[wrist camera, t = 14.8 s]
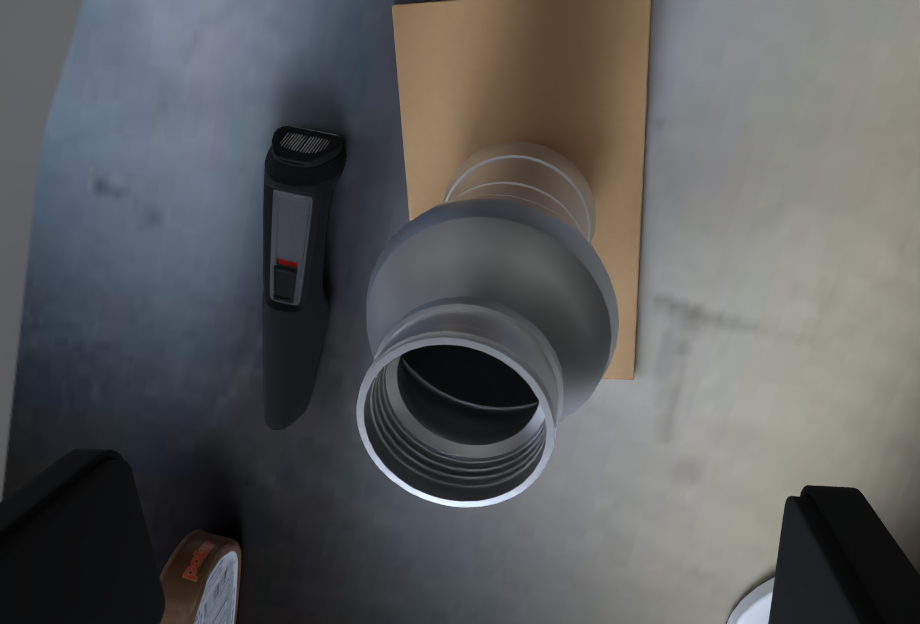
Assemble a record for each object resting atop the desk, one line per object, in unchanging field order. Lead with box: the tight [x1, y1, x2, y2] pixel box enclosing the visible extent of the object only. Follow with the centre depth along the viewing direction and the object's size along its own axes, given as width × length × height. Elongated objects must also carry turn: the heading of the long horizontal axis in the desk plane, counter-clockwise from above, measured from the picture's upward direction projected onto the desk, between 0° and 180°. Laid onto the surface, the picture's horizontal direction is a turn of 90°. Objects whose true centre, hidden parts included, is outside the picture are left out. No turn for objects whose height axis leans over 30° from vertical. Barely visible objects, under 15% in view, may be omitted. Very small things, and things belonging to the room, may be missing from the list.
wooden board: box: [392, 0, 651, 380], centre depth 30 cm, size 11×18×1 cm, turn 3°
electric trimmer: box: [263, 126, 346, 430], centre depth 32 cm, size 4×16×3 cm, turn 170°
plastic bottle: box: [357, 141, 619, 507], centre depth 21 cm, size 6×7×20 cm
